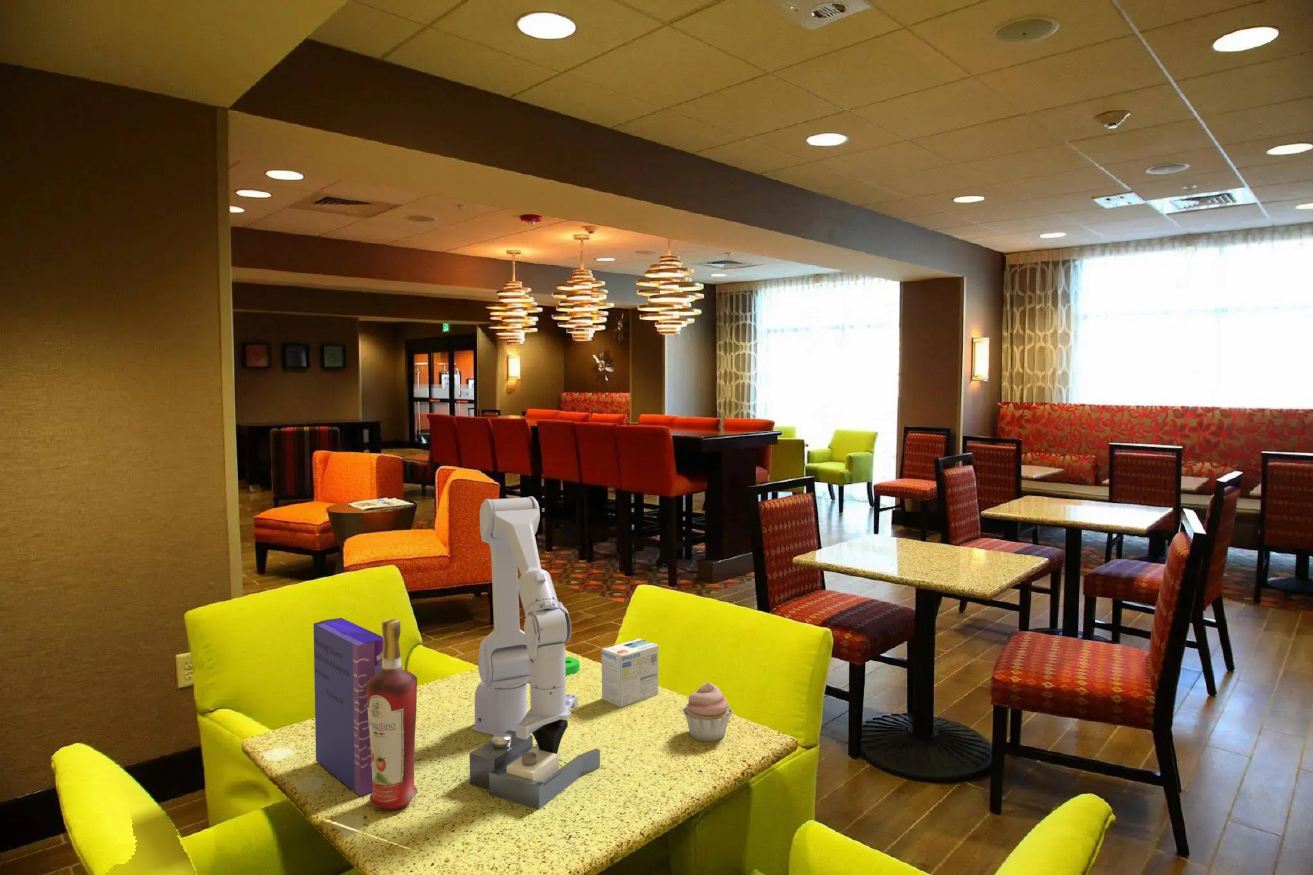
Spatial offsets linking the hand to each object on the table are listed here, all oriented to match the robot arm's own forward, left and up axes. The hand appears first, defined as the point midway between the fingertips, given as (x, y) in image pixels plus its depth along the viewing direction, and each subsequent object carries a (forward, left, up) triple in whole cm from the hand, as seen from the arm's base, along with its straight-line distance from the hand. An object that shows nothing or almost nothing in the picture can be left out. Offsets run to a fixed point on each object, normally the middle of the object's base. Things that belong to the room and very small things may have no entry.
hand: (548, 765), depth 124 cm
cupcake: (+17, +26, -2) cm, 31 cm away
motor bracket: (0, -2, -2) cm, 3 cm away
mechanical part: (-27, +41, -2) cm, 49 cm away
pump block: (0, -4, -2) cm, 5 cm away
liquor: (-16, -18, -2) cm, 24 cm away
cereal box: (-30, -14, -2) cm, 33 cm away
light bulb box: (-5, +36, -2) cm, 37 cm away
